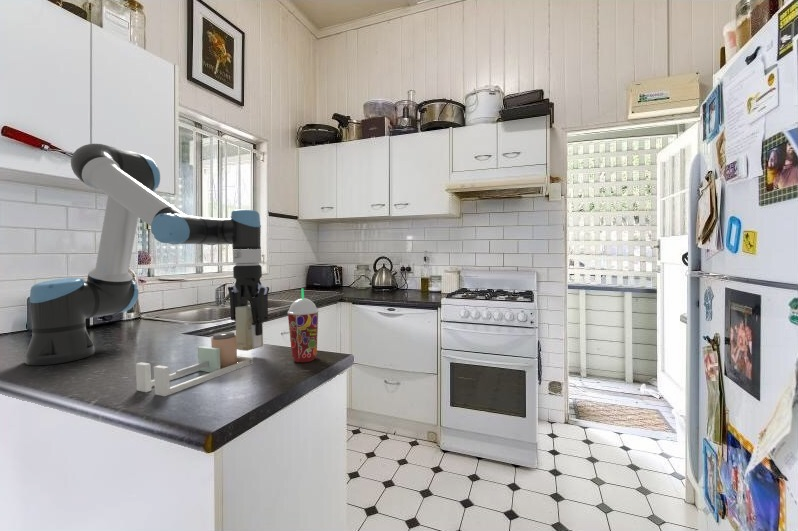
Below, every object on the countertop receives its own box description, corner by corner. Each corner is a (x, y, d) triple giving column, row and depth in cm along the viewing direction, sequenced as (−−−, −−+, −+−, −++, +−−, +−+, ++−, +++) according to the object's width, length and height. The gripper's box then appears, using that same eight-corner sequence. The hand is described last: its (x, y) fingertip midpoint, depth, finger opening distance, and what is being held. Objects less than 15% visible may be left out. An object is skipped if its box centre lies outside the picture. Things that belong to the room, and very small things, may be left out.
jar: (207, 369, 96) (205, 335, 96) (226, 362, 101) (225, 331, 101) (223, 371, 94) (222, 337, 93) (242, 364, 99) (241, 332, 99)
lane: (136, 390, 82) (135, 363, 81) (226, 360, 104) (226, 338, 104) (164, 396, 78) (163, 368, 78) (252, 363, 100) (251, 341, 100)
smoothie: (315, 364, 99) (313, 289, 98) (284, 364, 99) (282, 290, 98) (322, 355, 107) (320, 286, 106) (294, 355, 107) (292, 287, 106)
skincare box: (247, 351, 102) (246, 308, 101) (235, 349, 104) (234, 307, 103) (263, 345, 108) (263, 304, 107) (252, 344, 109) (251, 303, 109)
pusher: (168, 380, 87) (167, 355, 87) (202, 369, 95) (201, 346, 95) (187, 384, 84) (186, 358, 84) (220, 372, 92) (219, 348, 92)
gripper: (214, 265, 105) (217, 346, 106) (261, 265, 98) (263, 351, 99) (235, 264, 112) (238, 340, 113) (280, 264, 105) (282, 345, 106)
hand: (250, 345), depth 106 cm, fingers closed on skincare box, 4 cm apart
